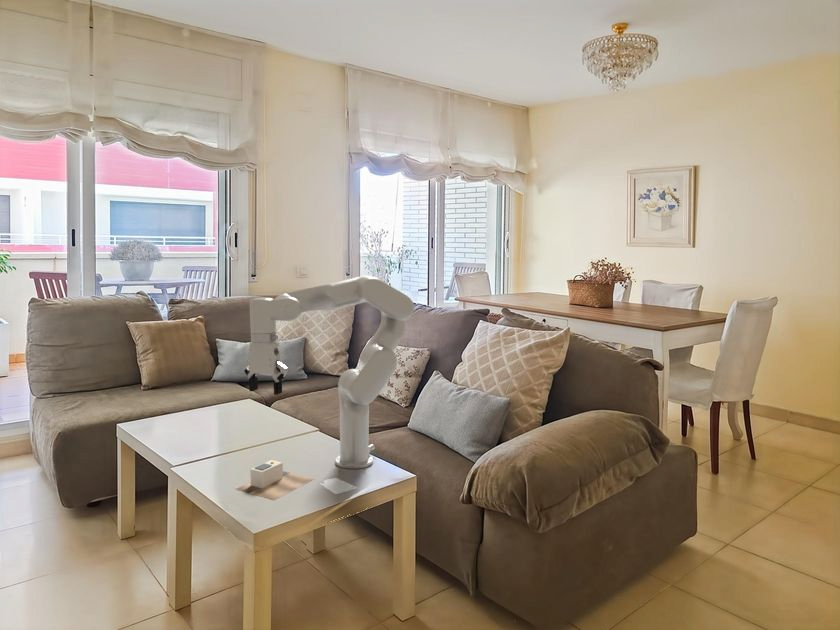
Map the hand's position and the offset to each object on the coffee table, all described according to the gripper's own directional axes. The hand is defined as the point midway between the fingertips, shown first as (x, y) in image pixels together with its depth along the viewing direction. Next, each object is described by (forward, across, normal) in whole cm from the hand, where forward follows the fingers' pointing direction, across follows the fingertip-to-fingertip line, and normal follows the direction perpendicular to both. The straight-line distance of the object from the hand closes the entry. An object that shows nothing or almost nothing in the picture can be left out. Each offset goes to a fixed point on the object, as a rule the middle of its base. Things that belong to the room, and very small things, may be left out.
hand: (265, 392), depth 191 cm
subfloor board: (+27, -8, +7) cm, 29 cm away
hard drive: (+28, -24, -2) cm, 37 cm away
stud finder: (+26, -5, +7) cm, 27 cm away
